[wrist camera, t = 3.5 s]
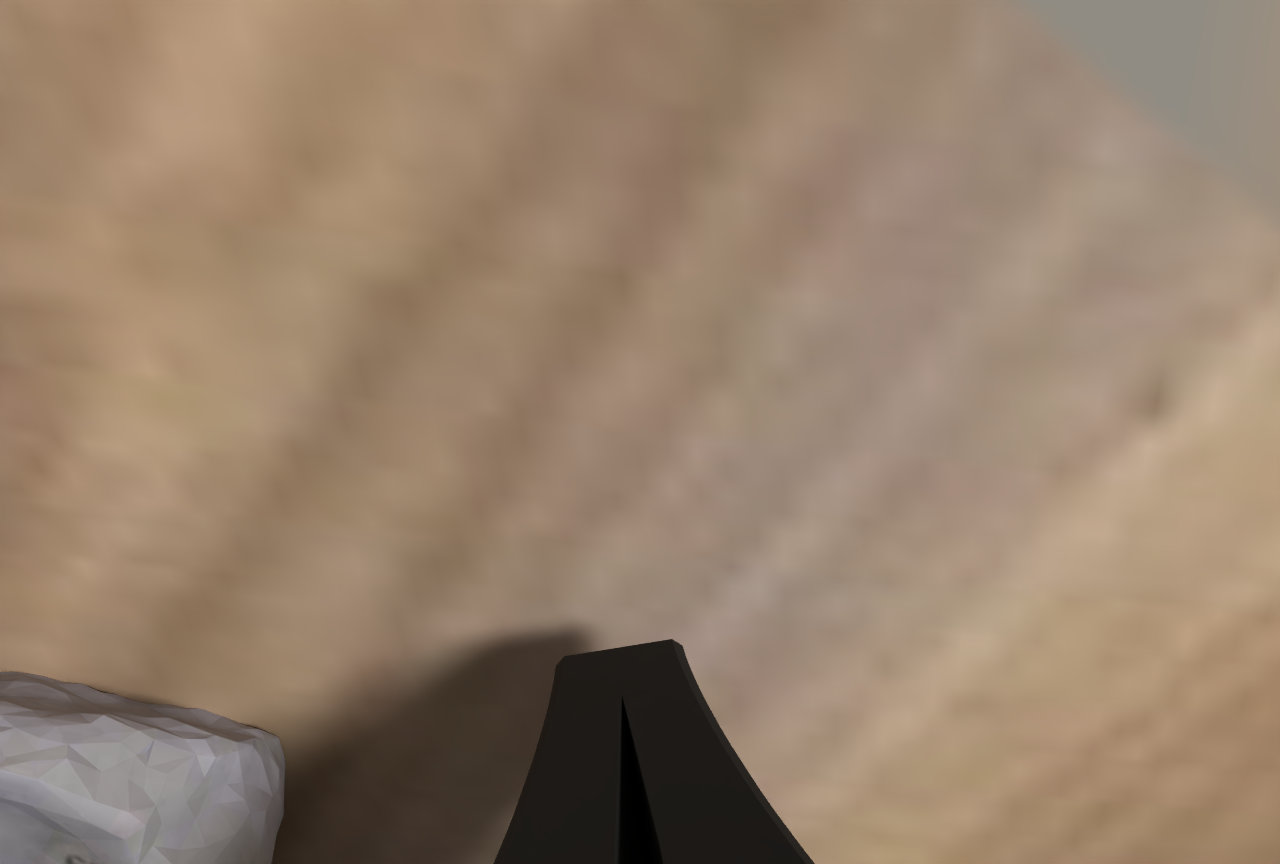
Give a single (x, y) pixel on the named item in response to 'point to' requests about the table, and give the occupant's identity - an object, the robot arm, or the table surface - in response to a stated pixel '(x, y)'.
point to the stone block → (131, 780)
